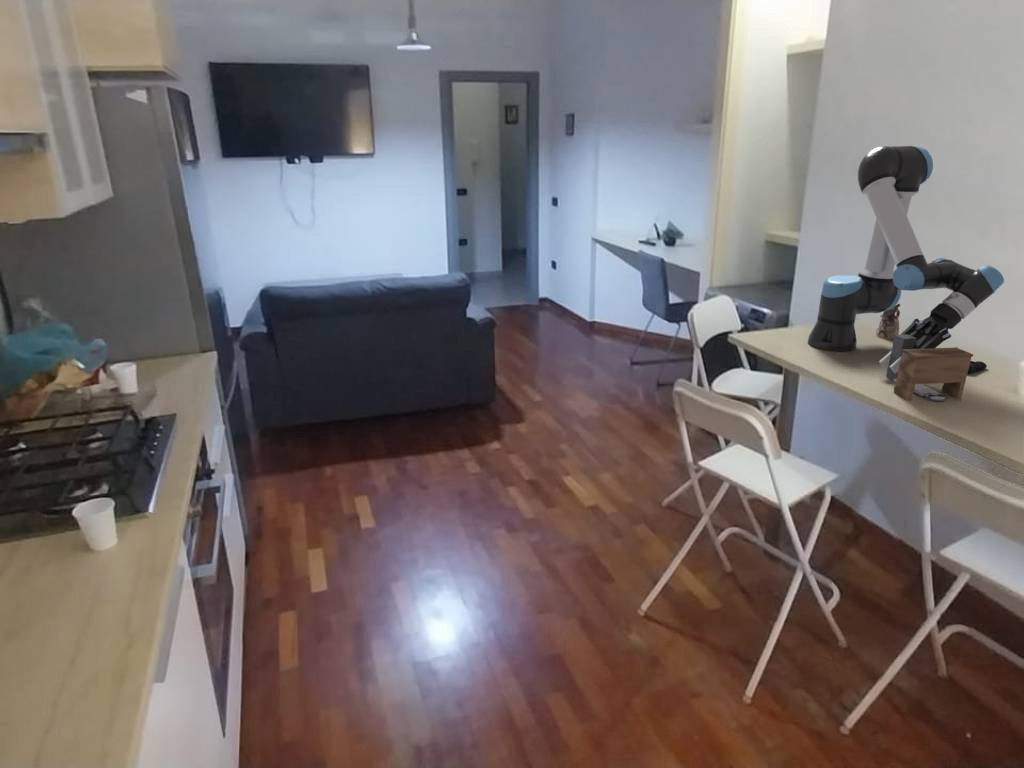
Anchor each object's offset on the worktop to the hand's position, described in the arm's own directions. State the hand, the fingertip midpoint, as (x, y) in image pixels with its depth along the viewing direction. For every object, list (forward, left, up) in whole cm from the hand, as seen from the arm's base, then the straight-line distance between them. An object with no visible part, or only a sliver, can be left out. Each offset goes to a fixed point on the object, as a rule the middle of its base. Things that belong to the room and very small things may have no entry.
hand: (887, 367), depth 199 cm
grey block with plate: (+6, +4, -4) cm, 8 cm away
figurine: (-42, +30, -4) cm, 52 cm away
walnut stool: (+13, +4, -4) cm, 14 cm away
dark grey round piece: (+16, +4, -4) cm, 17 cm away
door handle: (-13, +30, -5) cm, 33 cm away
